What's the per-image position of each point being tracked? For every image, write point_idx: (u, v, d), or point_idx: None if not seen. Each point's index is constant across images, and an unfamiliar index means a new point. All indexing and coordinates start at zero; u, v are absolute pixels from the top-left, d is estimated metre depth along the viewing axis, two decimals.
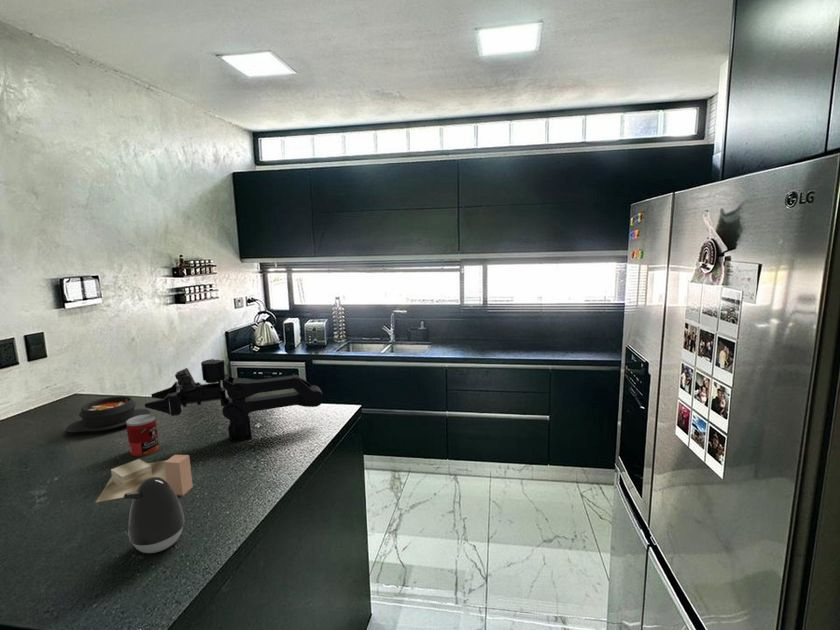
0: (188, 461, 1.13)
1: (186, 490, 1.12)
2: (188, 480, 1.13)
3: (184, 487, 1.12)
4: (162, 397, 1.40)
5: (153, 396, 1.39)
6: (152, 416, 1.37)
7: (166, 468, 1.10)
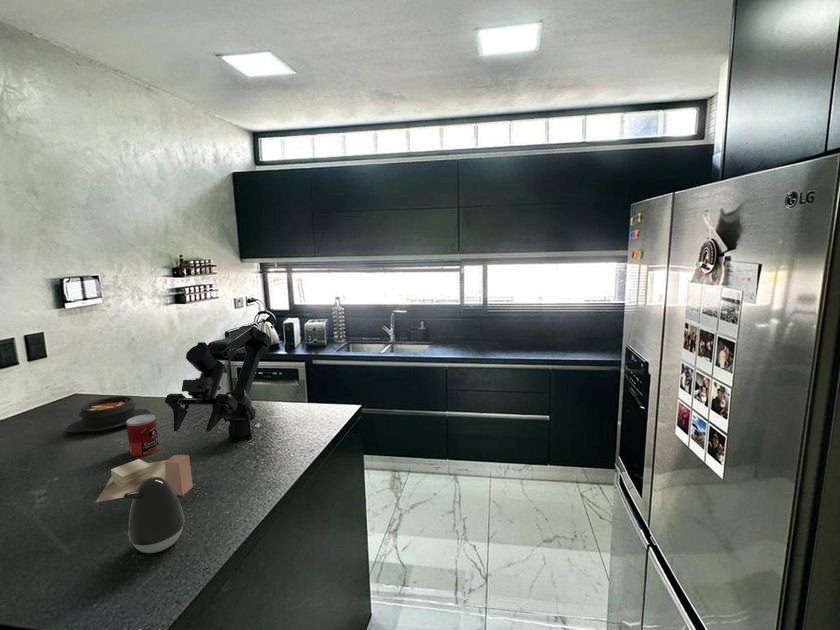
0: (188, 461, 1.13)
1: (186, 490, 1.12)
2: (188, 480, 1.13)
3: (184, 487, 1.12)
4: (181, 422, 1.21)
5: (177, 429, 1.19)
6: (152, 416, 1.37)
7: (166, 468, 1.10)
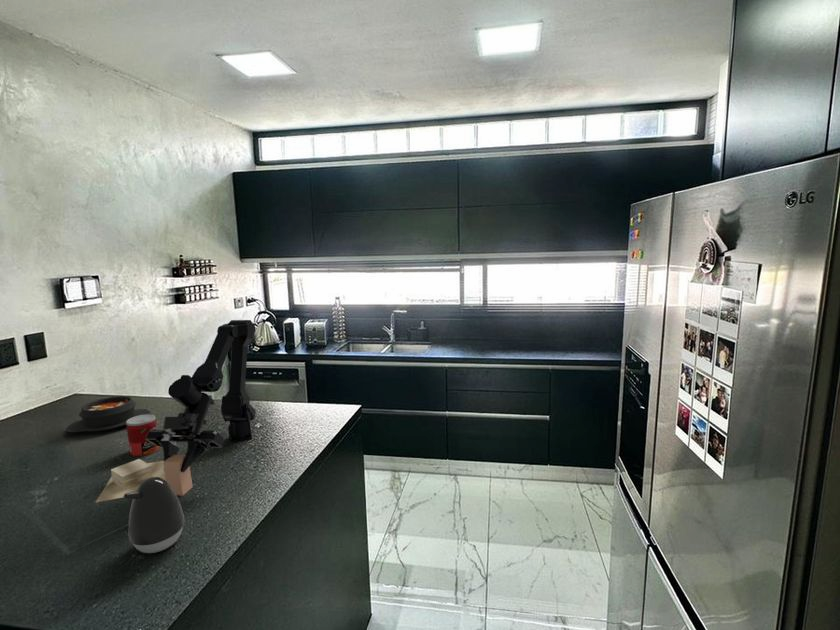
0: None
1: (186, 490, 1.12)
2: (188, 479, 1.13)
3: (184, 487, 1.12)
4: None
5: None
6: (152, 416, 1.37)
7: (165, 468, 1.10)
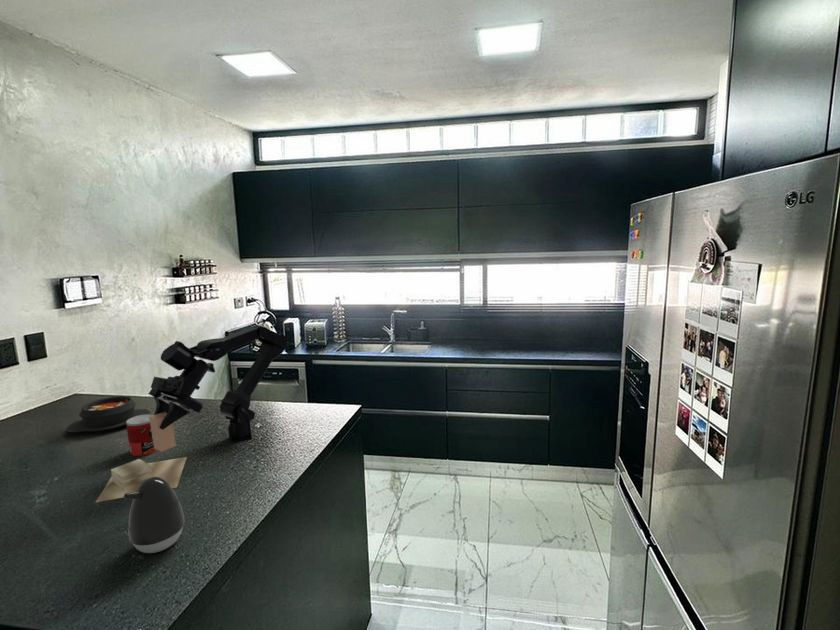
0: None
1: (165, 446, 1.22)
2: (169, 437, 1.23)
3: (163, 442, 1.22)
4: None
5: None
6: None
7: (150, 422, 1.22)
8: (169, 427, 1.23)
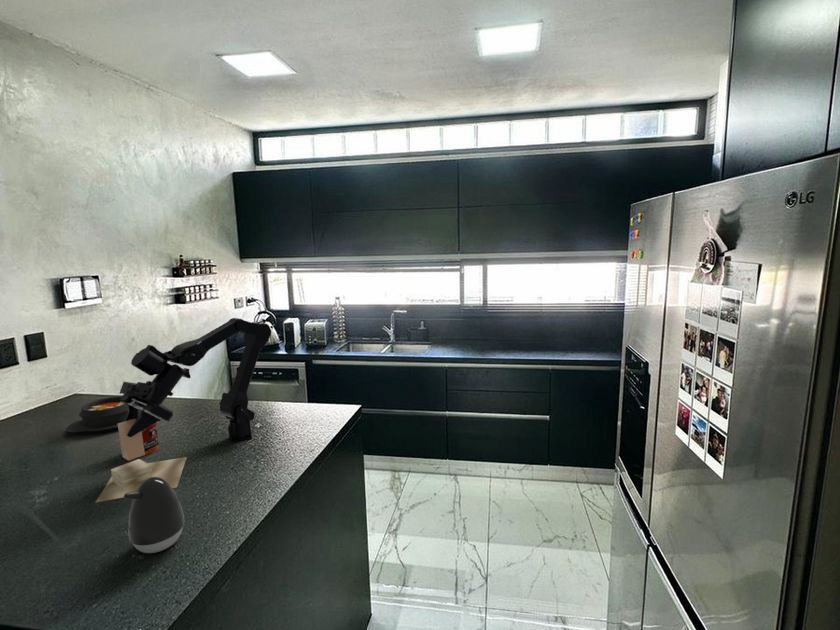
0: None
1: (133, 454, 1.17)
2: (138, 445, 1.17)
3: (131, 451, 1.16)
4: None
5: None
6: None
7: (118, 429, 1.17)
8: (138, 435, 1.17)
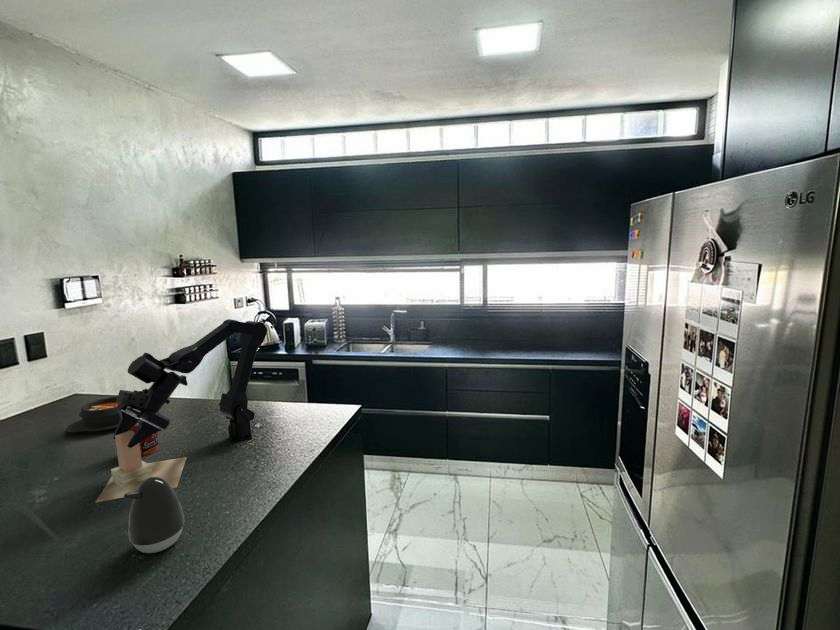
0: None
1: (131, 467, 1.16)
2: (135, 457, 1.17)
3: (128, 463, 1.16)
4: (125, 430, 1.21)
5: None
6: None
7: (116, 441, 1.16)
8: (135, 447, 1.17)
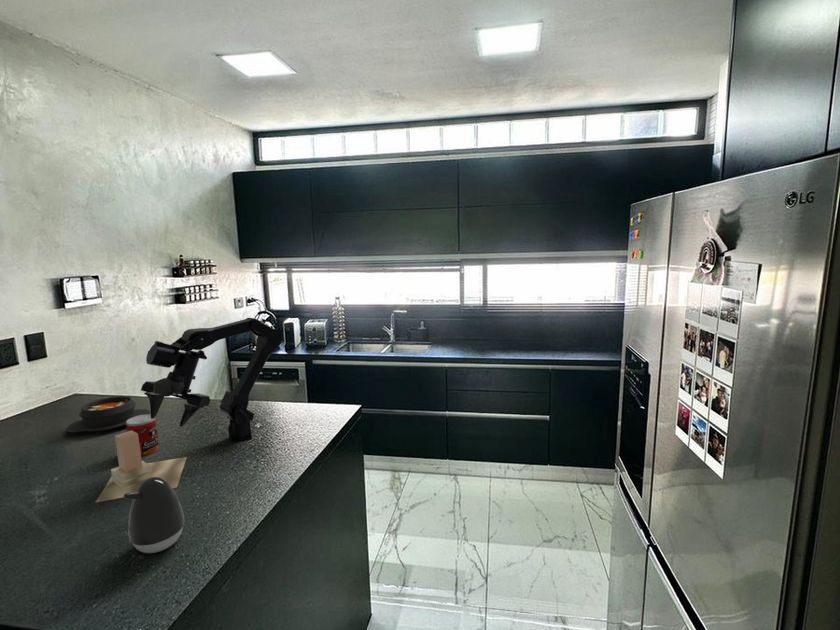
0: (136, 439, 1.17)
1: (131, 467, 1.16)
2: (135, 457, 1.17)
3: (128, 463, 1.16)
4: (158, 408, 1.30)
5: (154, 416, 1.29)
6: None
7: (116, 441, 1.16)
8: (135, 447, 1.17)
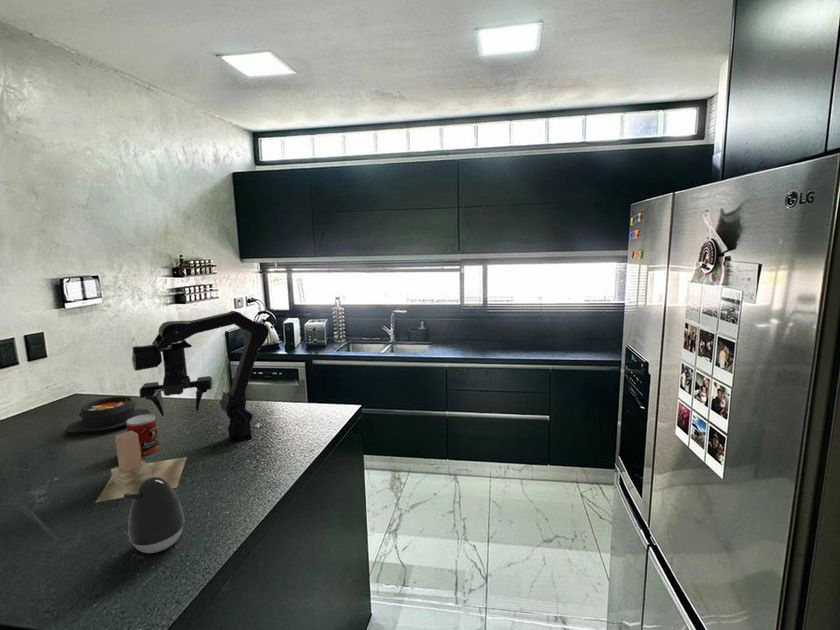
0: (136, 439, 1.17)
1: (131, 467, 1.16)
2: (135, 457, 1.17)
3: (128, 463, 1.16)
4: None
5: None
6: (152, 416, 1.37)
7: (116, 441, 1.16)
8: (135, 447, 1.17)
